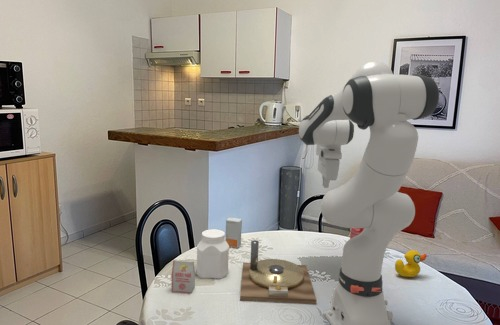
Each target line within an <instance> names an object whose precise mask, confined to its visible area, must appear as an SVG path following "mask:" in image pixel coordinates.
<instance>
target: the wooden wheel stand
mask: <svg viewBox="0 0 500 325" xmlns="http://www.w3.org/2000/svg"><path fill="white" fill-rule="evenodd" d="M297 265H298V266H299V267H300V268H301V269H302V270H303V273H304V275H303V282H302V283H301V284H300V285H299V286H297V287H295V288H292V289H288V288H287V287H280V286H276V287H270V286H269V289H267V288H264V287H261V286H259V285H257V284H255V283H254V282H253V281H252V280H251V279H250V277H249V269H250V262H242V272H241V273H242V274H241V281H240V282H241V284H240V292H239V293H240V295H239V300H240V301H242V302H262V303H263V302H266V303H286V304H288V303H289V304H303V305H304V304H306V305H317V296H316V293H315V290H314V286H313V284H312V281H311V277H310V274H309V270H308V266H307V265H306V264H297Z"/></svg>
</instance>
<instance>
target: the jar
mask: <svg viewBox="0 0 500 325" xmlns="http://www.w3.org/2000/svg"><path fill="white" fill-rule="evenodd" d="M225 236H226V232H225V231H223V230H222V229H221V230H220V229H214V228H212V229H205V230H204V231H202V232H201V240H200V241H199V242H198V243H197V246H196V275H197V276H198V277H199V278H201V279H216V280H220V279H223V278H225V277H227V276H228V274H229V255H230V253H229V252H230V247H229V245H228V243H227V242H226V240H225Z"/></svg>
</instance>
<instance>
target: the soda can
mask: <svg viewBox="0 0 500 325" xmlns="http://www.w3.org/2000/svg"><path fill="white" fill-rule="evenodd" d="M363 230H364V228H350V234H349V235H350V236H349V239H351V238H353V237H355V236H357V235H359V234H360V233H361V232H362V231H363Z"/></svg>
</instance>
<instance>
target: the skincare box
mask: <svg viewBox="0 0 500 325" xmlns="http://www.w3.org/2000/svg"><path fill="white" fill-rule="evenodd" d="M242 224H243V219H242V218H239V217H238V218H237V217H230V216H229V217H228V218H227V219H226V220H225V240H226V242H227V243H228V245H229V248H235V249H239V248H240V246H241V245H242V228H243V226H242Z"/></svg>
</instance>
